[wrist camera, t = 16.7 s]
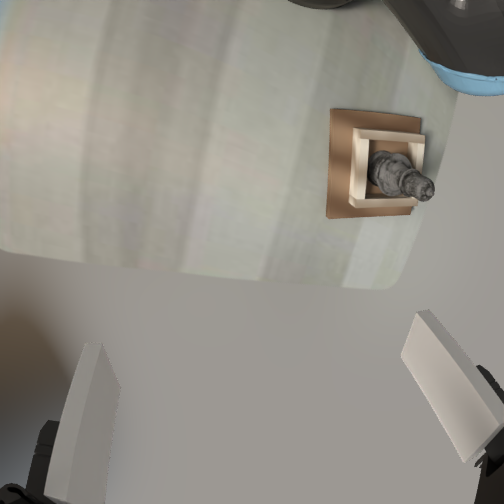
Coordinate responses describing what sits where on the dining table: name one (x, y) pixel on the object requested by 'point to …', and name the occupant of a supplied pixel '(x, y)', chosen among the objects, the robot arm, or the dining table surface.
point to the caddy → (356, 161)
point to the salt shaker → (398, 176)
